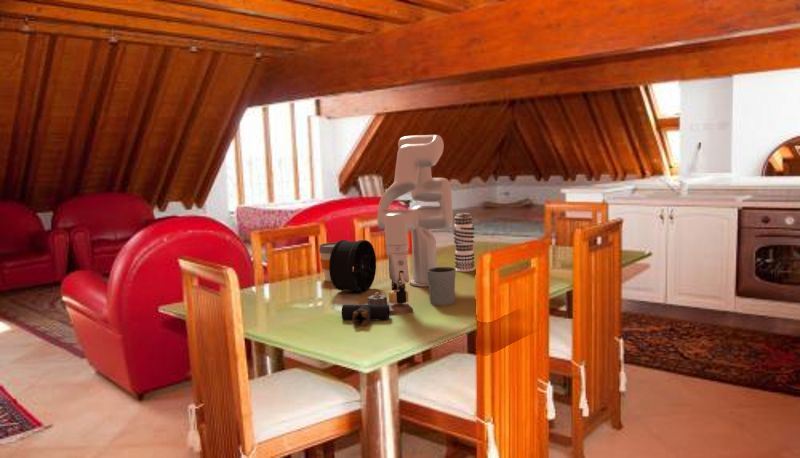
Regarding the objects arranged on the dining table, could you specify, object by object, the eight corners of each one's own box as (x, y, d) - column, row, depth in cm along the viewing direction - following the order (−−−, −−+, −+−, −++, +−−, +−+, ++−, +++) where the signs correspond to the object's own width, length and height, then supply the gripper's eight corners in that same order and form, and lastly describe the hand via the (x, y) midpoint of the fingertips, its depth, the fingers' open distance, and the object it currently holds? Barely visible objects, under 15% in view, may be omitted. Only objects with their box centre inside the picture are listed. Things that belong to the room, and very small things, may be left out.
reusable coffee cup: (315, 281, 271) (313, 246, 269) (329, 275, 283) (327, 242, 281) (341, 282, 267) (339, 247, 265) (355, 276, 278) (353, 242, 276)
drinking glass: (437, 307, 220) (436, 273, 218) (422, 301, 229) (421, 268, 227) (462, 303, 225) (461, 269, 223) (447, 297, 234) (445, 265, 232)
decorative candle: (479, 268, 285) (477, 212, 281) (469, 272, 277) (468, 214, 274) (460, 266, 290) (458, 212, 286) (451, 270, 282) (449, 214, 278)
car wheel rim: (354, 297, 241) (351, 244, 238) (330, 295, 245) (327, 244, 242) (377, 285, 259) (374, 236, 256) (355, 284, 263) (352, 236, 260)
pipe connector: (382, 311, 199) (335, 311, 202) (383, 327, 200) (336, 327, 202) (389, 302, 210) (345, 302, 213) (389, 318, 211) (345, 318, 213)
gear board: (403, 303, 228) (403, 286, 227) (413, 311, 216) (412, 294, 215) (365, 307, 225) (364, 289, 224) (372, 316, 212) (371, 298, 212)
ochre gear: (405, 298, 225) (405, 288, 224) (410, 302, 219) (409, 292, 218) (387, 300, 223) (387, 290, 223) (391, 304, 217) (391, 294, 217)
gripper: (413, 252, 211) (416, 305, 213) (401, 244, 228) (403, 293, 230) (391, 254, 209) (394, 307, 212) (380, 246, 226) (383, 295, 228)
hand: (399, 299), depth 221 cm, fingers closed on ochre gear, 6 cm apart
